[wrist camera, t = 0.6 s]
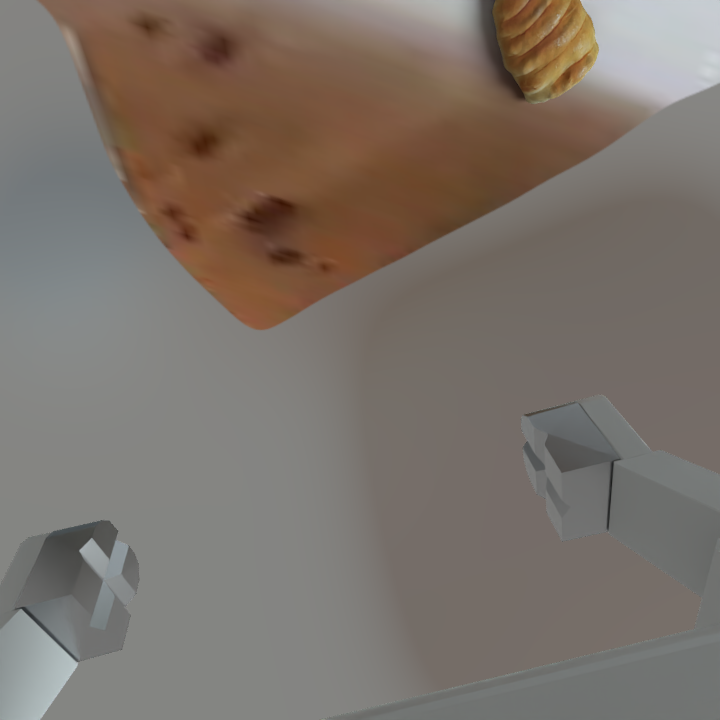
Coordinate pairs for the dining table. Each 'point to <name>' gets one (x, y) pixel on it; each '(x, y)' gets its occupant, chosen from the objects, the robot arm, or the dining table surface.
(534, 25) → the pastry
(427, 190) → the dining table surface
